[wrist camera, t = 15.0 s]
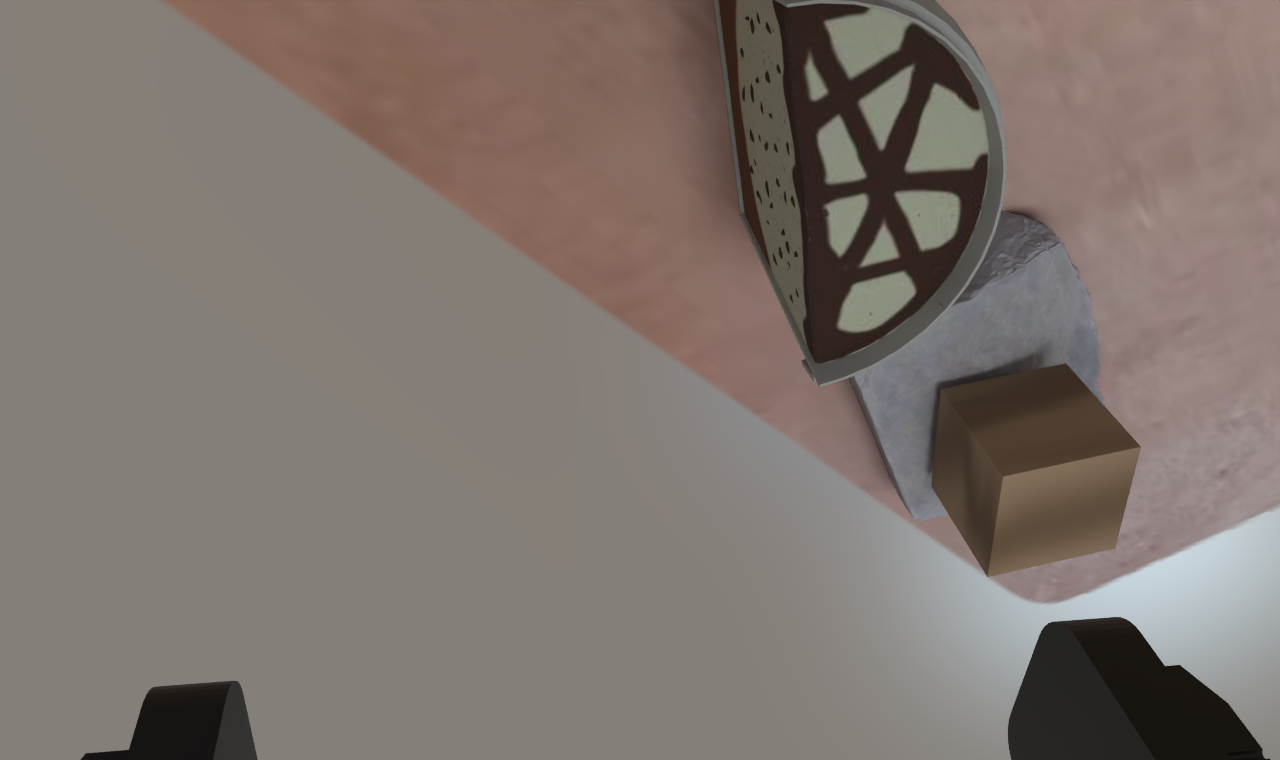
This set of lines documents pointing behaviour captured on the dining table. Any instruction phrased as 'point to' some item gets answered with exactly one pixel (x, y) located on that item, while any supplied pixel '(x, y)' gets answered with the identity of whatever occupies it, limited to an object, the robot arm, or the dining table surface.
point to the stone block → (980, 349)
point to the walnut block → (1031, 468)
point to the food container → (861, 166)
